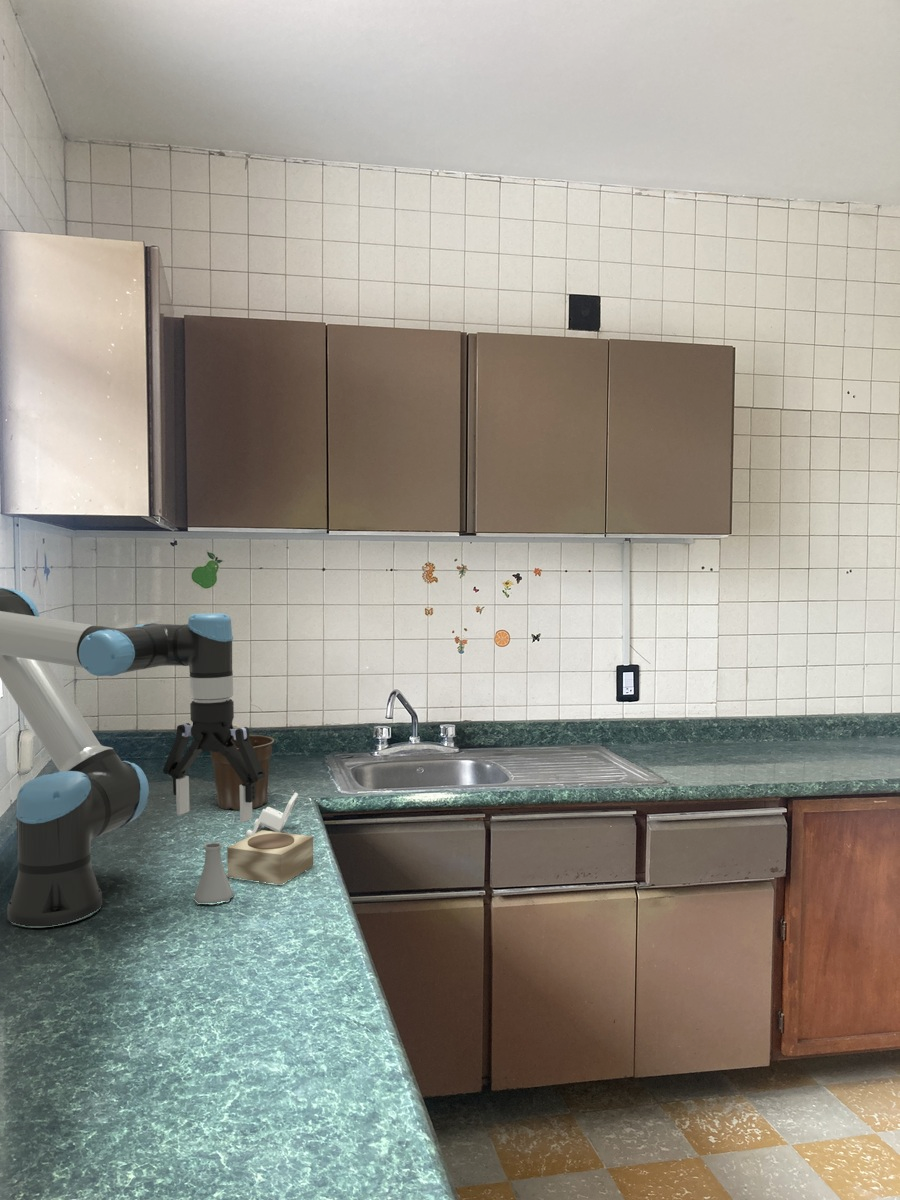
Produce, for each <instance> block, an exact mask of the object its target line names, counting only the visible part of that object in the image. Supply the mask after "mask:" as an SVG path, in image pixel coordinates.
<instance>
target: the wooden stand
mask: <svg viewBox="0 0 900 1200" xmlns="http://www.w3.org/2000/svg"><path fill="white" fill-rule="evenodd" d="M226 849H227V850H226V851H227V853H226V854H227V862H226V864H227V878H228V877H233V878H241V879H247V880H253V881H259V882H266V883H274V884H283V883H285V882H286V881H288V880H290V879H292V878H294V877H295V876H297V875H298V876H300V875H301V874H300V873H302V872H303V873H305V872H306V871H308V870H309V869H311V868H313V867H314V836H310V835H302V834H295V833H288V832H282V831H281V832H275V831H274V830H262V829H260V830H259V832H257V833H255V834H253V835H251V836H249V837H245V838H243V839H242V840H241V839H240V840H239V841H238V842H235V843H234V844H231V845H229V846H228V847H227V848H226ZM312 866H313V867H312ZM307 869H308V870H307ZM305 870H306V871H305ZM304 871H305V872H304ZM303 873H302V874H303ZM299 874H300V875H299ZM298 876H297V877H298ZM295 878H296V877H295ZM295 878H294V879H295ZM292 880H293V879H292ZM290 881H291V880H290Z"/></svg>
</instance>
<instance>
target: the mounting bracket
mask: <svg viewBox="0 0 900 1200" xmlns="http://www.w3.org/2000/svg"><path fill="white" fill-rule="evenodd" d="M298 796H299V793H297V792H294V793H293V794H292V796H291V798H290V799H289V801H288V803H287V805H286V807H285V809H284V811H283V812H281V811H279V810H278V809H275V808H273V807H272V806H271V807H270V806H267V807H265V808H263V809H262V811H261V812H260V815H259V817H258V818H255V821H254V822H253V826H254V827H253V829H252V830H251V829H248V830H247V831H246V833H245V838H247V837H249V836H251V835H253V834H255V833H257V832H259V831H261V830H262V827H265V828H268V829H269V830H271V831H273V832H281V833H282V830H283V829H284V828H285V825H286V823H287V820H288V818H289V816H290V814H291V812H292V809H293V808H294V804H295V803H296V801H297V799H298Z"/></svg>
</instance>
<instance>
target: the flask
mask: <svg viewBox="0 0 900 1200" xmlns="http://www.w3.org/2000/svg"><path fill="white" fill-rule="evenodd" d="M222 848H223V844H222V843H221V842H216V841H215V842H208V843H205V844H204V845H203V849H204V850H205V858H204V865H203V868H202V871H201V875H200V879H199V880H198V884H197V886H196V890H195V893H194V896H193V898H194V899H195V900H196V901H197V902H198V903H217V902H221V901H228V900H230V898H231V897H232V896H233V895H234V896H235V894H234V892H233V889H232V887H231V884H230V882H229V880H228V879H229V878H228V875H227V873H226V871H225V868H224V865H223V861H222V855H221V854H222V853H221V849H222Z"/></svg>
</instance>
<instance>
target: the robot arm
mask: <svg viewBox="0 0 900 1200" xmlns="http://www.w3.org/2000/svg"><path fill="white" fill-rule="evenodd" d="M232 627H233V626H232V619H231V617H230V616H229V615H228V613H227V614H226V613H222V612H220V613H219V612H213V613H212V612H211V613H192V614H190V615H189V617H188V623H187V624H185V623H184V624H165V623H155V622H153V623H152V622H151V623H144V624H142V623H141V624H140V623H139V624H136V625H135V626H133V627H132V626H131V627H125V628H122V627H121V628H117V627H108V626H103V625H102V626H101V625H97V624H96V625H95V624H89V623H82V622H75V621H71V620H70V621H69V620H63V619H55V618H49V617H42V616H40V613H39V609H38V607H37V605H36V604H35V602H34V601H33V600H32V598H31V597H30V596H29V595H27V594H26V593H24V592H23V591H21V590H18V589H14V588H6V587H0V679H1V681H2V683H3V684H4V686H5V687H6V689H7V690H8V692H9V694H10V695H11V697H12V699H13V700H14V702H15V703H16V705H17V707H18V708H19V711H21V713H22V715H23V716H24V717H25V719H26V721H27V722H28V724H29V725H30V727H31V729H32V731H33V732H34V733H35V735H36V736H37V738H38V740H39V741H40V743H41V744H42V746H43V748H44V750H45V751H46V752H47V755H48V756H49V757H50V759H51V760H52V762H53V764H54V765H55V767H56V769H57V770H58V771H55V772H53V773H51V774H49V773H47V774H43V775H40V776H37V777H35V778H33V779H30V780H29V781H27V782H25V783H24V784H23V785H22V786H21V787H20V788H19V790H18V792H17V796H16V797H17V798H16V799H17V800H16V807H15V816H16V837H17V838H16V839H17V840H16V841H17V842H16V843H17V870H18V871H17V875H16V879H15V882H14V886H13V888H12V889H13V890H12V893H11V897H10V899H9V901H8V903H7V920H8V919H9V920H10V921H11V922H13V923H16V924H20V925H25V926H52V925H58V924H62V923H67V922H70V921H73V920H76V919H79V918H82V917H84V916H86V915H88V914H90V913H92V912H94V911H96V910H97V909H99V908H100V907H101V905H102V906H103V892H102V889H101V887H99V884H98V880H97V877H96V873H95V871H94V868H93V866H92V850H91V849H92V846H91V843H92V841H91V840H93V839H96V838H98V837H100V836H102V835H105V834H107V833H110V832H112V831H114V830H116V829H117V830H118V829H119V828H123V827H126V825H128V824H129V823H131V822H133V821H134V820H136V819H137V818H138V817H140V815H141V814H142V813H143V812H144V810H145V808H146V807H147V804H148V797H149V795H150V787H149V782H148V778H147V776H146V774H145V773H144V771H143V769H142V768H141V767H140V766H139V765H137V764H136V763H135V762H130V761H128V760H122V759H121V758H120V756H119V755H118V754H117V752H116V751H115V749H114V748H113V747H111V746H104V745H103V744H102V743H100V741H99V740H98V738H97V737H96V735H95V734H94V732H93V730H92V729H91V727H90V726H89V725H88V723H87V721H86V720H85V718H84V717H83V715H82V714H81V712H80V710H79V709H78V707H77V705H76V703H74V701H73V699H72V698H71V696H70V694H69V693H68V692H67V690H66V688H65V687H64V685H63V684H62V682H61V681H60V679H59V678H58V676H57V674H56V673H55V671H54V670H53V668H52V666H51V665H50V664H49V663H52V664H57V665H63V666H69V667H77V668H81V669H84V670H86V671H87V672H88V673H89V674H90V675H93V676H96V677H106V676H109V677H112V676H118V675H120V674H125V673H130V672H136V671H139V670H146V669H151V668H157V667H163V666H175V667H177V666H181V667H182V666H183V667H184V666H185V667H189V668H188V669H189V697H190V699H191V700H192V701H191V702H190V703H189V705H190V708H189V709H190V721H191V722H192V725H191V723H189V722H186V723H183V724H178V725H177V727H176V734H175V739H174V742H173V744H172V747H171V749H170V750H169V751H170V752H169V755H168V757H167V758H166V762H165V764H164V766H163V769H162V773H163V774H164V775H169V776H170V777H171V778H172V789H173V791H172V793H173V795H174V796H176V798H175V799H176V800H175V801H176V802H175V803H176V815H177V816H181V815H183V814H186V813H188V812H190V776H189V775H187V771H188V770H189V769H190V767H191V766H192V764H194V763H195V761H196V759H197V758H198V757H199V755H200V754H201V752H210V751H212V752H220V753H221V754H222V755H224V756H225V757H226V759H227V760H228V761H229V763H230V764H231V766H232V767H233V769H234V770H235V772H236V773H237V774H238V776H239V777H240V779H241V780H242V782H243V784H241V785H239V786H240V810H239V821H240V823H244V822H247V821H249V820H252V819H253V809H252V802H253V801H255V798H256V793H255V784H256V782H258V781H260V780H262V779H264V778H265V773H264V771H263V769H262V766H261V764H260V762H259V759H258V757H257V755H256V752H255V750H254V748H253V746H252V743H251V741H250V737H249V735H250V730H249V728H248V726H243V727H240V728H234V726H233V721H234V718H235V717H234V716H235V715H234V713H235V711H234V705H235V704H234V700H233V699H231V698H232V697H233V696H234V675H233V673H234V671H233V641H234V636H233V630H232V629H233V628H232ZM191 736H192V738H193V739H194V740H193V741H192V743H190V745H189V747H188V750H187V751H186V753H185V750H186V747H187V745H188V743H189V740H190V737H191ZM233 736H234V740H236V742H237V746H238V748H239V750H240V753H241V755H242V756H241V755H240V753H239V752H238V750H237V746H236V745H235V743H234V742H233V740H232V738H233ZM227 746H228V748H226V747H227Z"/></svg>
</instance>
